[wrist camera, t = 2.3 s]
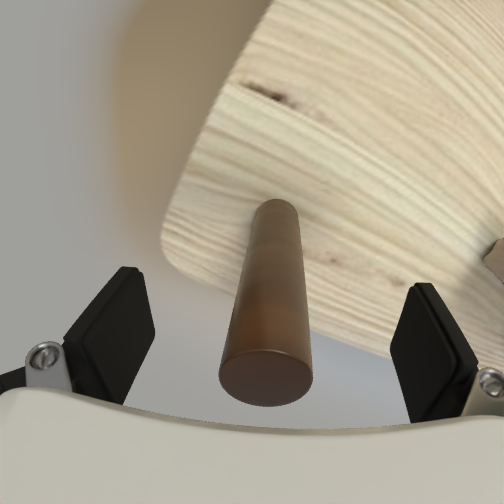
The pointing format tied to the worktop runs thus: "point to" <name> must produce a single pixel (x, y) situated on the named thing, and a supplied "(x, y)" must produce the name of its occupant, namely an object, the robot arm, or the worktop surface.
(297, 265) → the stick
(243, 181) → the worktop surface
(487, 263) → the tan handled block
